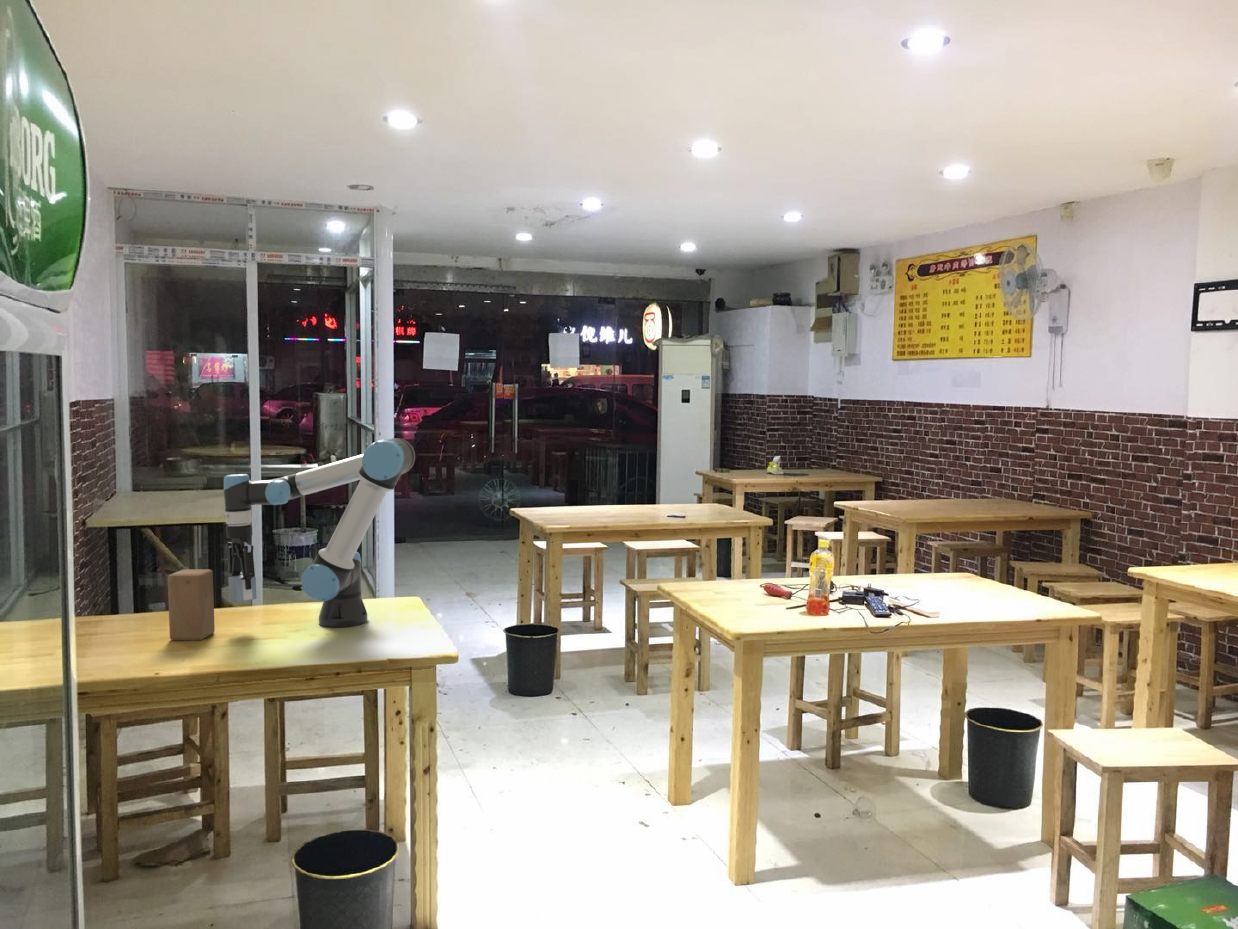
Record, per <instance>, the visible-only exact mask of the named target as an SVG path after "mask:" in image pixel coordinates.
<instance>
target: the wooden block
mask: <svg viewBox="0 0 1238 929" xmlns="http://www.w3.org/2000/svg"><path fill="white" fill-rule="evenodd" d="M213 572H214V571H213V570H212V569H209V568H207V569H205V568H204V569H203V568H202V569H201V568H200V569H199V568H196V569H193V568H192V569H189V568H188V569H186V568H185V569H180V570H178V571H176V572H173V573H171V574H168V576H167V592H168V593H167V594H168V595H167V597H168V619H169V620H168V621H169V622H168V623H169V624H168V625H169V639H170V641H171V640H172V641H201V640H204V639H205V638H207V637H209V636H210V635H213V634H214V633H215V603H214V602H215V601H214V600H215V599H214V573H213Z"/></svg>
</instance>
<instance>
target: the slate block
mask: <svg viewBox="0 0 1238 929" xmlns="http://www.w3.org/2000/svg"><path fill="white" fill-rule="evenodd" d="M241 578H243V575H239V576H228V577H227V579H228V580H227V581H228V597H229V598H228V600H230V601H233V602H236V603H240V602H246V601H248V600H243V591H242V580H241ZM256 578H257V577H256V576H255V577H252V578H251V579H252V597H253V599H250V600H249V601H252V600H253V601H254V600H257V599H258V598H257V580H256Z"/></svg>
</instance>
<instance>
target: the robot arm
mask: <svg viewBox="0 0 1238 929" xmlns="http://www.w3.org/2000/svg"><path fill="white" fill-rule="evenodd" d="M415 461H416V453H415V450H414V447H413V445H411V443H410V442H409V441H407V440H405V439H402V438H398V437H397V438H396V437H394V438H393V437H392V438H389V439H386V438H384V439H379V440H376V441H374V442H372V443H371V444H369V445H368V446H367V447H366V448H365V449H364V451H363V453H362V454H358V455H355V456H351V457H349V458H348V457H347V458H344V459H341V460H337V461H334V462H330V463H327V464H323V465H320V466H317V467H313V468H309V469H307V470H303V471H299V472H297V473H293V474H289V475H285V476H282V477H277V478H272V479H266V480H265V479H264V480H251V478H250V476H249V474H247V473H238V474H237V473H236V474H227V475H225V476H224V477H223V496H224V499H223V500H224V512H225V515H224V519H225V523H226V527H225V532H226V538H228V539H231V541H229V542H227V543H226V546H227V552H228V558H227V559H228V573H229V574H231V577H233V576H240V575H243V578H241V580H242V591H243V600H247V601H251V600H250V599H253V597H252V579H251V578H252V577H256V573H255V571H256V569H255V562H254V545H253V544H251V545H250V544H249V539H248V538H249V537H252V536H253V525H252V522H253V519H252V518H253V517H252V506H255V505H256V506H258V505H259V506H261V505H262V506H263V505H267V506H270V505H273V506H278V505H285V504H287V503H288V502H289V501H290V500H294V499H297V498H299V497H303V496H306V495H310V494H314V493H318V492H321V491H324V490H328V489H332V488H334V487H339V486H343V485H346V484H350V483H352V482H356V481H359V482H358V484H357V486H356V488H355V490H354V491H353V494H352V496H351V498H350V500H349V501H348V504H347V506H346V507H345V510H344V512H343V514H342V515H341V517H340V519H339V522H338V524H337V526H336V528H335V530H334V532H333V534H332V536H331V537H330V539H329V541H328V543H327V545H326V547H323V548H321V549H319V550H318V553H317V554H316V556H315V558H314V560H313V562H312V564H311V565H309V566H307V568H306V569H305V570H304V571H303V573H302V575H301V580H300V582H301V587H302V589H303V592H304V593H305V595H306V596H307V597H309V598H310V599H312V600H313V601H317V602H322V606H321V609H320V611H319V615H318V624H319V625H320V626H322V627H329V628H330V627H331V628H344V627H345V628H346V627H347V628H348V627H354V626H359V625H362V624H365V623H367V622H368V612H367V609H366V606H365V603H364V600H363V598H362V559H361V554H360V552H359V551H358V549H359V548H360V545H361V543H362V541H363V539H364V538H365V536H366V534H367V531H368V529H369V528H370V525H371V524H372V521H373V520H374V518H375V516H376V514H377V512H378V509H379V507H380V505H382V504H381V503H382V502H383V500H384V498H385V496H386V495H387V493H388V492H390V491H394V489H395V487H396V486H397V483H398V481H399V480H400V478H401V476H402V475H404V474H406V473H407V472H409V471H410V470H411V469H412V467H413V466H414V464H415ZM253 600H254V599H253Z"/></svg>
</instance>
